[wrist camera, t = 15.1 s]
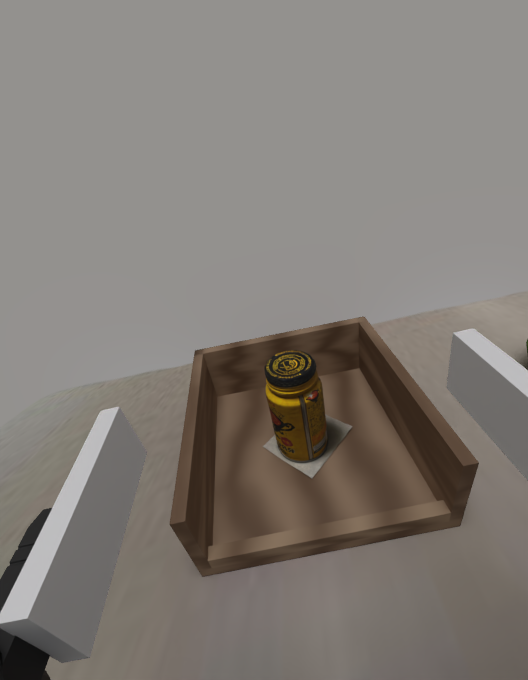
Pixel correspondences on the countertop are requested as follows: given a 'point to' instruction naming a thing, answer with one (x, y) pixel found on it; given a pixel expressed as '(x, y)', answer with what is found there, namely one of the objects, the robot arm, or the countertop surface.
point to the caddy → (335, 474)
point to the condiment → (300, 413)
